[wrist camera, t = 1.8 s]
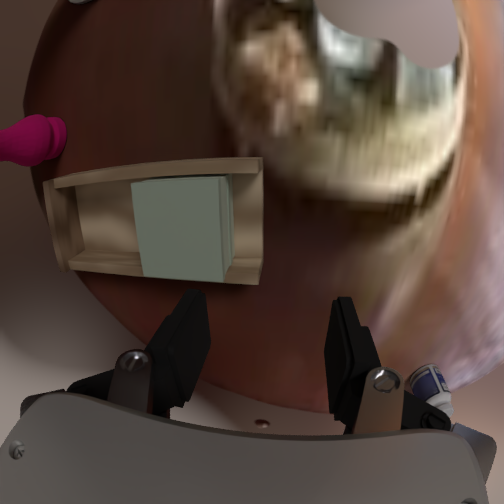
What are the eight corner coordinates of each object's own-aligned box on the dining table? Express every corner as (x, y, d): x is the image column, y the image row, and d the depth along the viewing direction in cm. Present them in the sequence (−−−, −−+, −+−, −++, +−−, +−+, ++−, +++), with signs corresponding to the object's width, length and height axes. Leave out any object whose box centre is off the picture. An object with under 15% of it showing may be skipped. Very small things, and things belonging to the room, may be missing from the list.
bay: (73, 173, 30) (42, 181, 25) (263, 157, 27) (256, 160, 22) (86, 253, 35) (60, 271, 29) (263, 263, 32) (257, 289, 26)
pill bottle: (406, 388, 37) (419, 432, 28) (413, 366, 35) (430, 412, 26) (433, 381, 36) (449, 422, 27) (441, 359, 34) (462, 402, 25)
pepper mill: (66, 163, 30) (-52, 200, 12) (38, 159, 30) (-66, 191, 12) (72, 113, 27) (-51, 125, 9) (44, 114, 27) (-65, 128, 9)
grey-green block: (160, 174, 28) (130, 183, 22) (233, 171, 27) (218, 178, 21) (167, 252, 31) (143, 276, 26) (235, 255, 30) (223, 282, 25)
